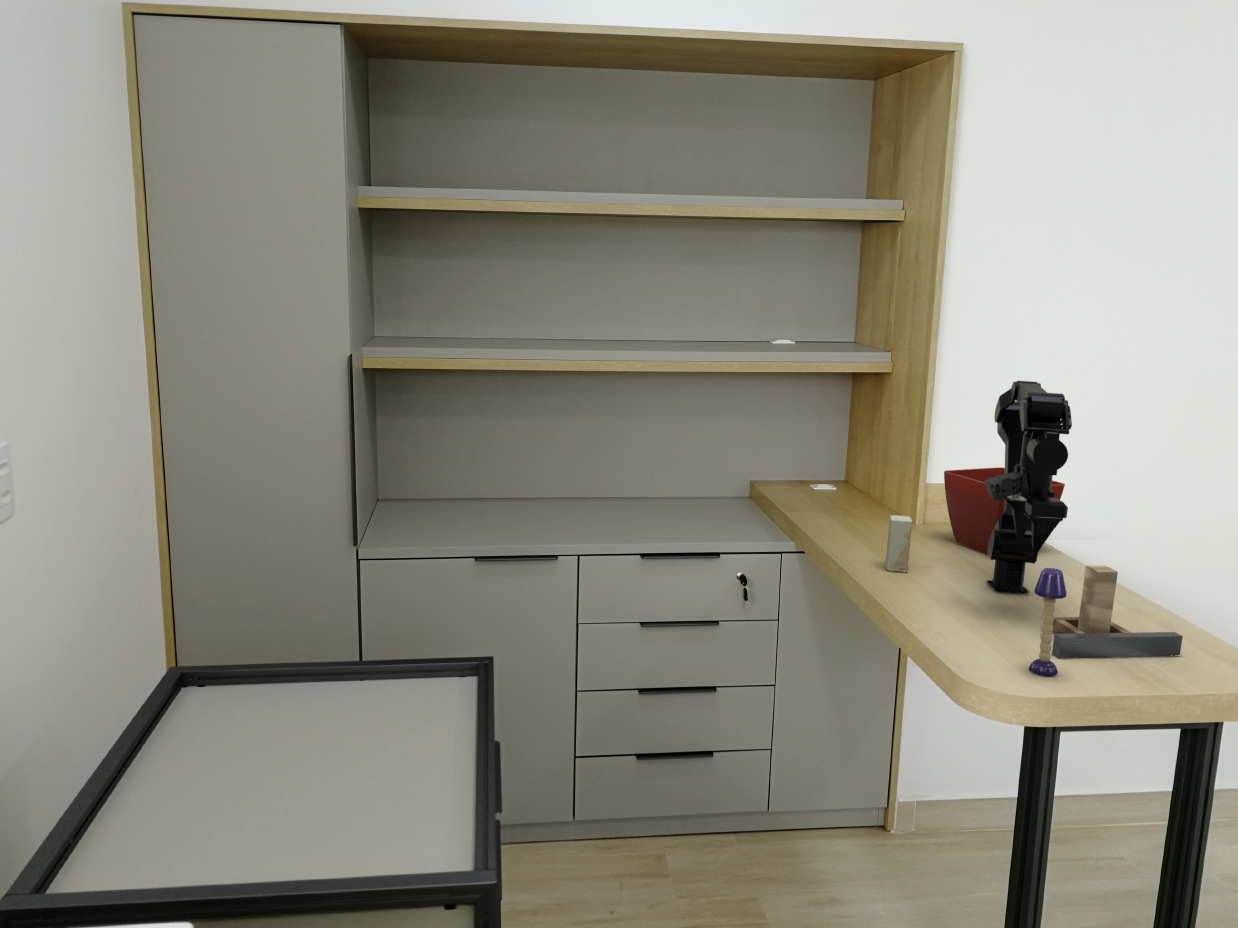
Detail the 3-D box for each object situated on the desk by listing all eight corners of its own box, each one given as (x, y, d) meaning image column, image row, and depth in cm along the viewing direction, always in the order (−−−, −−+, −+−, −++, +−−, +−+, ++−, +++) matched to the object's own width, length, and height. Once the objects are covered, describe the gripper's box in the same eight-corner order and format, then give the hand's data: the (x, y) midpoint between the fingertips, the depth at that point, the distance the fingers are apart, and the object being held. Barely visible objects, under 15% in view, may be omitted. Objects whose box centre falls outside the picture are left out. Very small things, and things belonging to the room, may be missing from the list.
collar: (1049, 630, 182) (1051, 617, 182) (1101, 629, 184) (1102, 616, 183) (1082, 651, 173) (1084, 637, 172) (1136, 650, 174) (1138, 636, 174)
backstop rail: (1051, 653, 171) (1054, 633, 170) (1171, 651, 174) (1174, 631, 174) (1058, 658, 169) (1061, 638, 168) (1179, 655, 172) (1182, 636, 172)
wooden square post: (1076, 636, 180) (1085, 565, 177) (1095, 636, 180) (1105, 565, 178) (1088, 644, 176) (1098, 571, 174) (1107, 644, 177) (1117, 571, 174)
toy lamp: (1024, 672, 162) (1036, 571, 159) (1025, 663, 166) (1037, 563, 163) (1057, 678, 160) (1070, 576, 157) (1057, 668, 165) (1070, 568, 161)
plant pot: (1058, 555, 233) (1067, 483, 230) (996, 563, 224) (1005, 488, 221) (994, 534, 250) (1002, 466, 246) (934, 541, 241) (941, 470, 238)
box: (907, 573, 214) (912, 521, 212) (886, 571, 215) (891, 519, 213) (905, 566, 219) (910, 515, 217) (885, 564, 220) (889, 514, 218)
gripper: (977, 450, 197) (969, 529, 200) (1008, 468, 178) (998, 555, 181) (1037, 453, 196) (1027, 532, 199) (1073, 472, 178) (1062, 559, 181)
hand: (1027, 544), depth 190 cm, fingers open, 9 cm apart
